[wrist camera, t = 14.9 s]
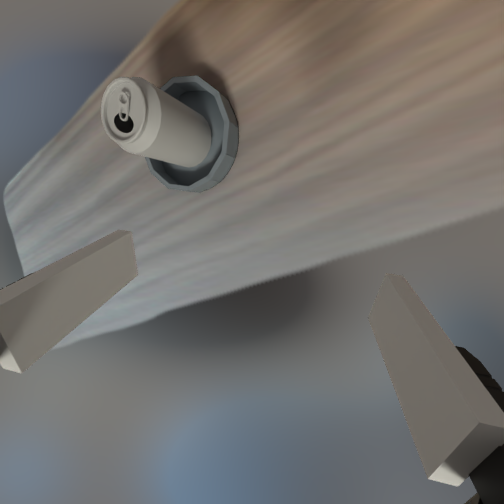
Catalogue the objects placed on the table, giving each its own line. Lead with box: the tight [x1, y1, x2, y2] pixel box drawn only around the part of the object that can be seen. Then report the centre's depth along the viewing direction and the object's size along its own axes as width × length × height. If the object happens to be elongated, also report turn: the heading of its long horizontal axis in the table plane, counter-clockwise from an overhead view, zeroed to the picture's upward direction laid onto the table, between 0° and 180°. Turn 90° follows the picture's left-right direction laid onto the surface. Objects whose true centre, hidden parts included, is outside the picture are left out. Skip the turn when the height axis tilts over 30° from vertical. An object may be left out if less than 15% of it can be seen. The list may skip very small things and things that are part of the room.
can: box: [101, 77, 211, 167], centre depth 29 cm, size 8×8×12 cm
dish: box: [145, 76, 239, 193], centre depth 34 cm, size 14×14×3 cm
